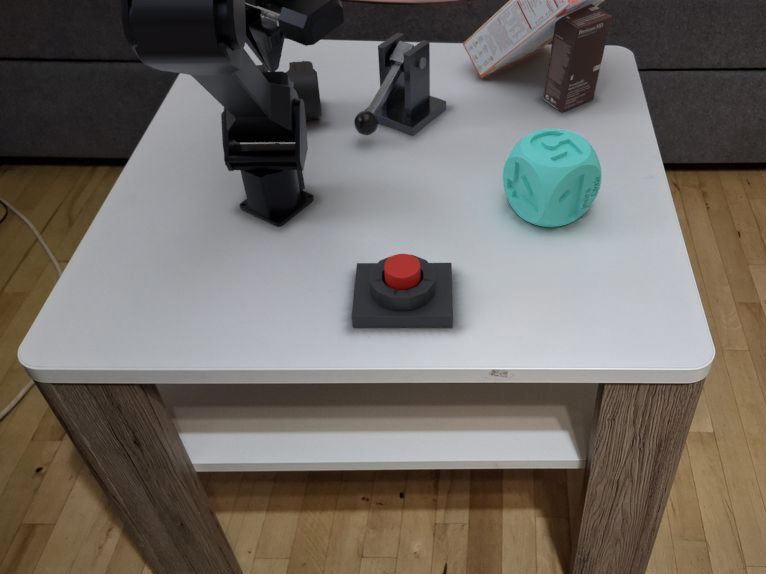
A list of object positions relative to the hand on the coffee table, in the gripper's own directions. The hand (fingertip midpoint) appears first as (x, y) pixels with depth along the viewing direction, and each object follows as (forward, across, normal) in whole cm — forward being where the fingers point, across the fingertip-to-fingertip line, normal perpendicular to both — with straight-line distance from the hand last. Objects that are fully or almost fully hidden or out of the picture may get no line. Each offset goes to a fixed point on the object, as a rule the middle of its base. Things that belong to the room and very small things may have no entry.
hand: (273, 69), depth 87 cm
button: (+7, -28, +13) cm, 31 cm away
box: (+13, -24, -31) cm, 42 cm away
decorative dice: (+11, -33, -8) cm, 36 cm away
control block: (+10, -28, +14) cm, 32 cm away
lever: (+9, -7, -13) cm, 17 cm away
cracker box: (+12, -10, -37) cm, 40 cm away
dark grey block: (+13, +6, -6) cm, 16 cm away
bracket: (+13, -7, -16) cm, 22 cm away
